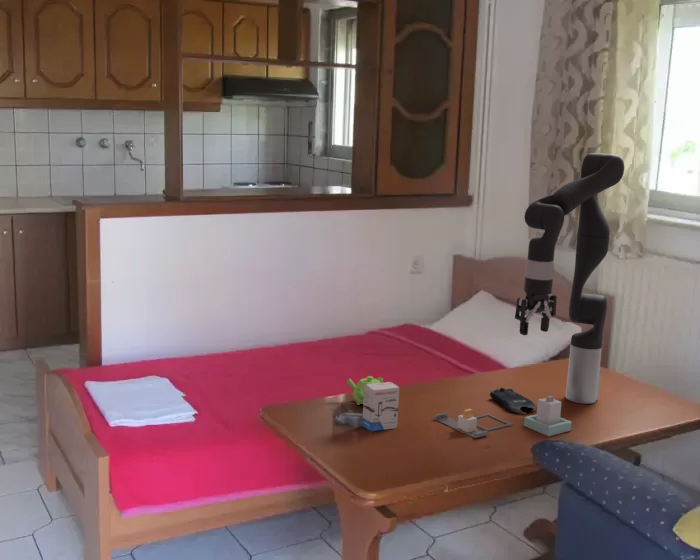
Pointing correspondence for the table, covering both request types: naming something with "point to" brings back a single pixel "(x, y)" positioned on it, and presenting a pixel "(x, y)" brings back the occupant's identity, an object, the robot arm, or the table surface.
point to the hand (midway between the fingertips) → (534, 332)
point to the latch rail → (454, 424)
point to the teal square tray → (547, 426)
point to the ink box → (380, 406)
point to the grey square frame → (494, 427)
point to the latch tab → (467, 421)
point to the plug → (548, 410)
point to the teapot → (362, 387)
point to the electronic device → (512, 400)
